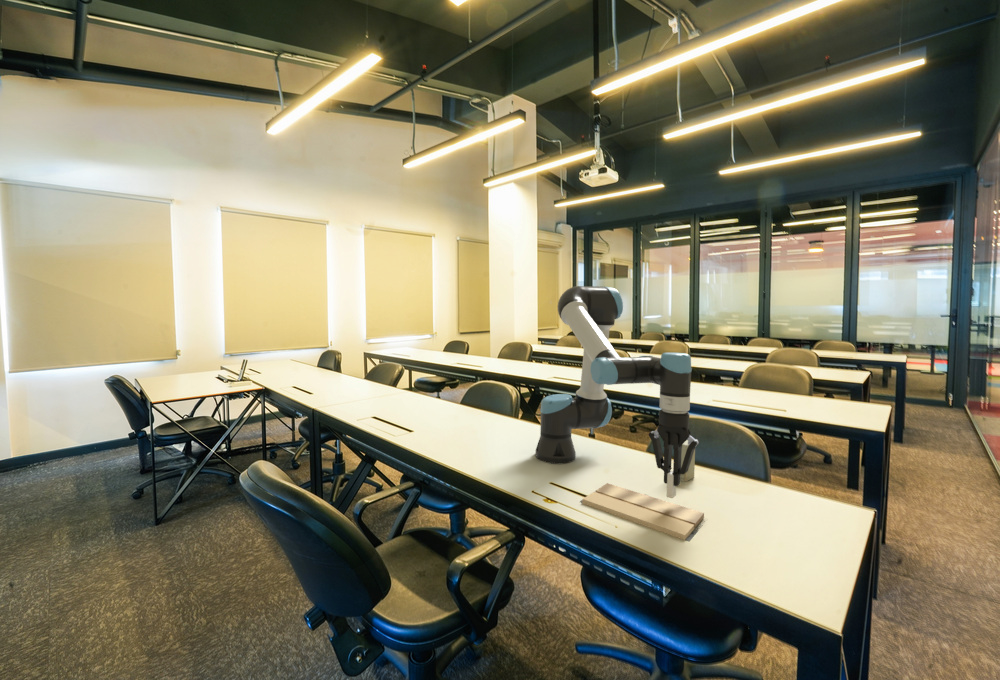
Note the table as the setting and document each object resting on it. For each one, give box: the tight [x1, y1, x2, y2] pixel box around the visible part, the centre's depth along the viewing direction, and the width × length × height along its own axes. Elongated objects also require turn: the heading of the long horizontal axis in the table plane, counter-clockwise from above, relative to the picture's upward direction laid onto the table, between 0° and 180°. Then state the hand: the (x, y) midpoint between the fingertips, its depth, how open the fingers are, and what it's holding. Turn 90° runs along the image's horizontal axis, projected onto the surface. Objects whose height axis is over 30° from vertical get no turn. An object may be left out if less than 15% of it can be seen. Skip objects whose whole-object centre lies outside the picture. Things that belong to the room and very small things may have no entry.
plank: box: [595, 482, 705, 529], centre depth 117 cm, size 28×7×1 cm, turn 48°
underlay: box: [579, 491, 707, 542], centre depth 114 cm, size 30×15×2 cm, turn 48°
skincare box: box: [680, 439, 696, 482], centre depth 140 cm, size 6×4×12 cm
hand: (671, 496), depth 114 cm, fingers closed
